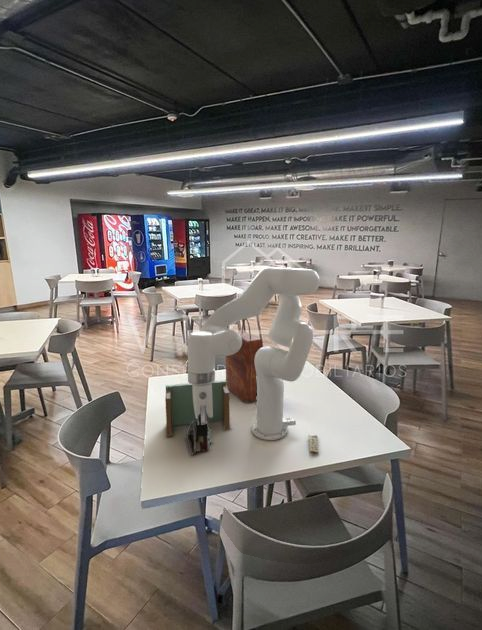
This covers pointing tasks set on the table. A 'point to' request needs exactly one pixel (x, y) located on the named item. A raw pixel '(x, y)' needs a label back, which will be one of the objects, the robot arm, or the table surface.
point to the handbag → (243, 367)
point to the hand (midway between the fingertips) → (201, 434)
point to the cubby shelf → (183, 409)
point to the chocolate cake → (197, 440)
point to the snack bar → (313, 443)
